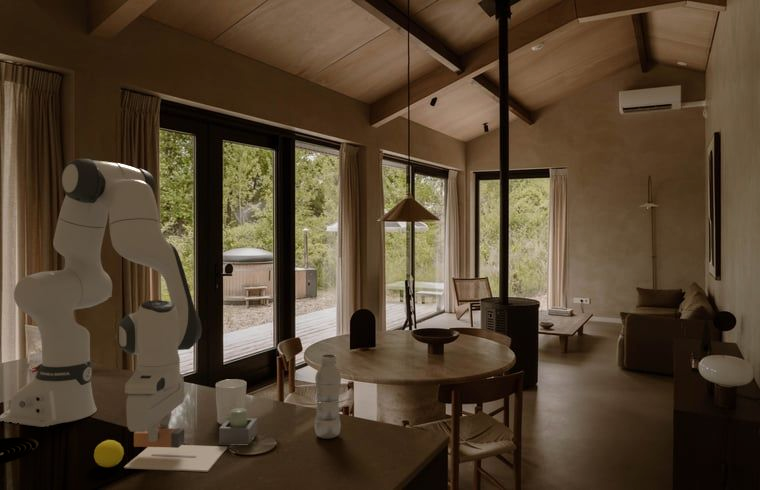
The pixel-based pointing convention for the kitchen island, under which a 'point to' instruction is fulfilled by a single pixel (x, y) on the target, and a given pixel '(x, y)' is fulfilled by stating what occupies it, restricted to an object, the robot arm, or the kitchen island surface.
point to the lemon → (108, 453)
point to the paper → (178, 458)
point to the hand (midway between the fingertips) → (158, 436)
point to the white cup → (229, 397)
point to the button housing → (237, 433)
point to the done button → (238, 417)
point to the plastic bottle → (327, 398)
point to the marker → (161, 438)
